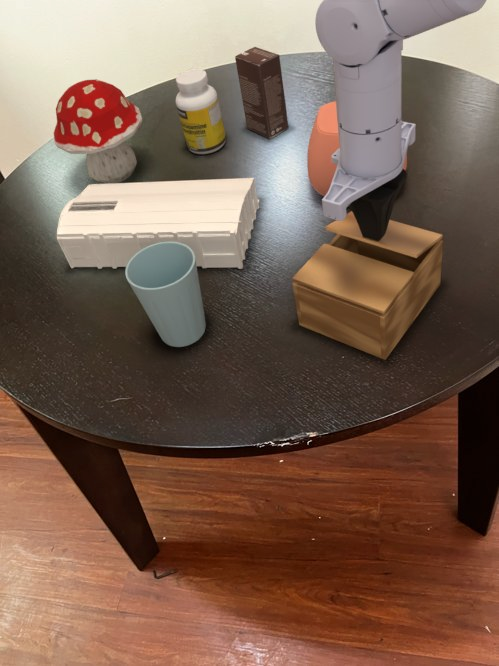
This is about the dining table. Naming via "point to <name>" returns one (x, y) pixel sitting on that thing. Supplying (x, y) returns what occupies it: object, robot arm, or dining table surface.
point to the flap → (389, 236)
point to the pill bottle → (199, 112)
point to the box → (262, 91)
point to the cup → (169, 291)
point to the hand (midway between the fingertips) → (373, 235)
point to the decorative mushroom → (98, 129)
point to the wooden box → (365, 292)
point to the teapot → (324, 148)
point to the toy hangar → (159, 221)
